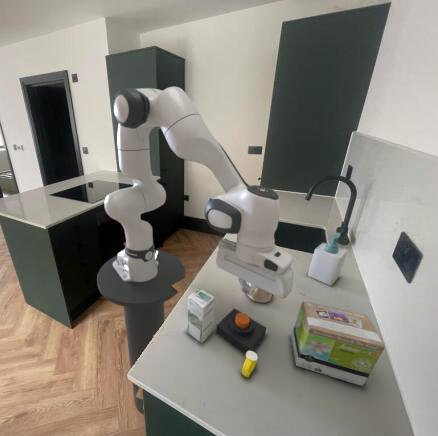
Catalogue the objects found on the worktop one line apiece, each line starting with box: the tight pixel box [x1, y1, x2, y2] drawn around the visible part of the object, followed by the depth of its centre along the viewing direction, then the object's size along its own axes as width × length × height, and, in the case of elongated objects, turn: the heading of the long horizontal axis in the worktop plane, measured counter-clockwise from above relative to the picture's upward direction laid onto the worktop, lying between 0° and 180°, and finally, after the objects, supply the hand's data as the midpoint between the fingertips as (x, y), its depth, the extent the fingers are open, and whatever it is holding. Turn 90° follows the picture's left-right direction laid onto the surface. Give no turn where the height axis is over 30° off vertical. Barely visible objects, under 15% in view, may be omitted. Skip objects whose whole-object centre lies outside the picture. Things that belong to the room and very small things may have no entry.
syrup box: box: [186, 287, 216, 344], centre depth 69 cm, size 6×6×14 cm
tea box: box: [290, 300, 386, 387], centre depth 60 cm, size 15×10×15 cm
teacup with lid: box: [246, 282, 273, 304], centre depth 83 cm, size 12×9×12 cm
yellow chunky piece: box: [241, 350, 259, 378], centre depth 59 cm, size 6×3×6 cm, turn 135°
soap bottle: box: [307, 232, 348, 287], centre depth 92 cm, size 9×9×19 cm
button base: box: [215, 308, 267, 356], centre depth 70 cm, size 11×10×5 cm
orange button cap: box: [235, 312, 251, 329], centre depth 69 cm, size 4×4×2 cm
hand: (247, 292), depth 64 cm, fingers closed
